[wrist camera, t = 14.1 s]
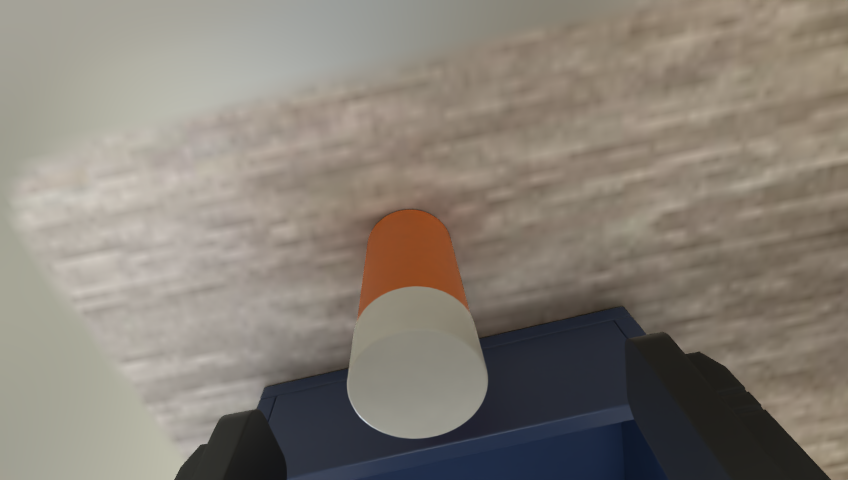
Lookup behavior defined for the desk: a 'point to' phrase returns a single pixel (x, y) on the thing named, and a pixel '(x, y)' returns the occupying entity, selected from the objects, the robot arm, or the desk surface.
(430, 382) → the glue stick
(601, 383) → the pencil box
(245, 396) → the desk surface
